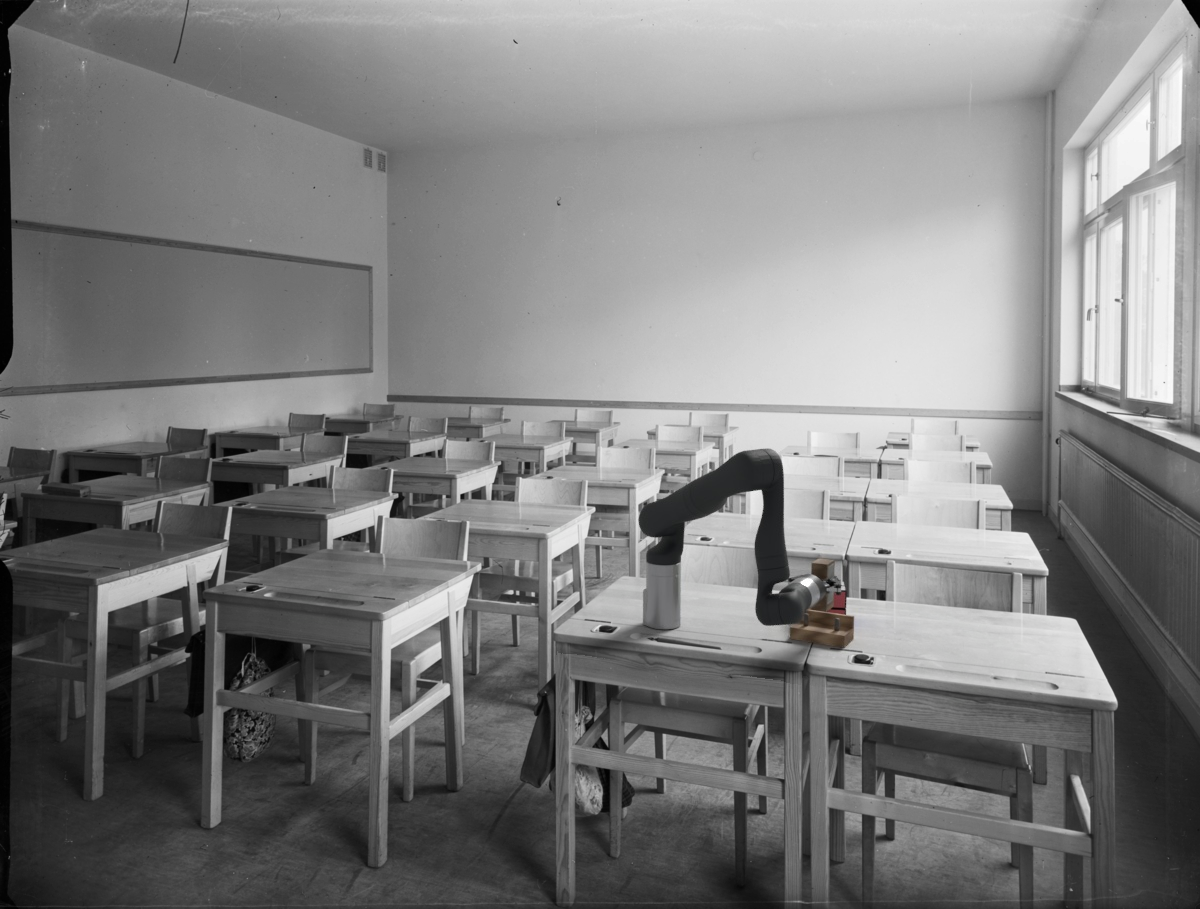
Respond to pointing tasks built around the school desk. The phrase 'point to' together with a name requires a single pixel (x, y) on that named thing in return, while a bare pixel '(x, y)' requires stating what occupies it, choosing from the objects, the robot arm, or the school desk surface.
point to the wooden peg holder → (824, 628)
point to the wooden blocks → (822, 570)
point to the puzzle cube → (839, 601)
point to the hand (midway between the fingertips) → (826, 578)
